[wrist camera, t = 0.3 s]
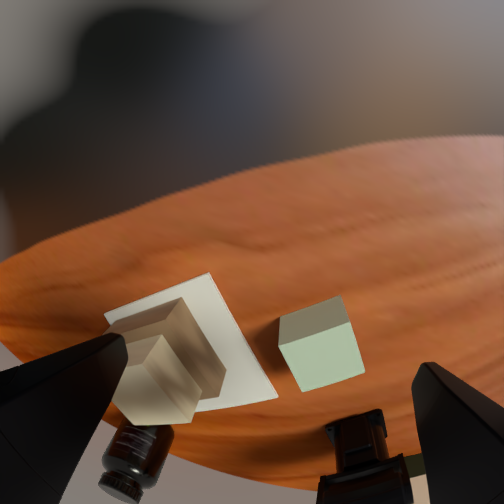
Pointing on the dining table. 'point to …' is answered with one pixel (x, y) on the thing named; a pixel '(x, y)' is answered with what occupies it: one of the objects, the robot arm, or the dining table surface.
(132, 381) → the birch block
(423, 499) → the wine bottle
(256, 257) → the dining table surface
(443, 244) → the dining table surface
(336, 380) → the sage block
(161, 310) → the walnut slab
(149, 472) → the supplement bottle
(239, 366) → the grey mat
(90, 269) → the dining table surface
